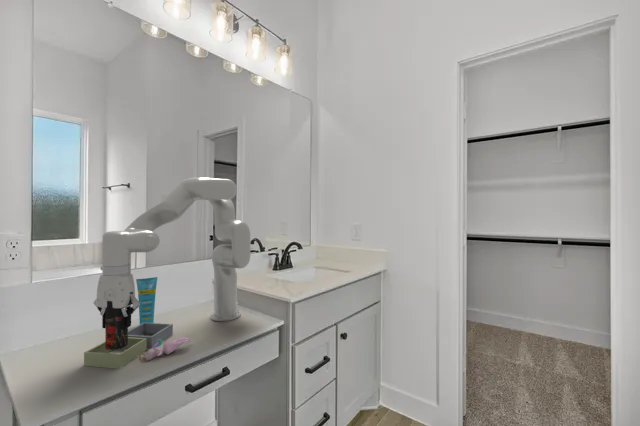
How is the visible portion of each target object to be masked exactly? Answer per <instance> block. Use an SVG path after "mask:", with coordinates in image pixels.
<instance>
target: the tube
mask: <svg viewBox="0 0 640 426" xmlns="http://www.w3.org/2000/svg"><path fill="white" fill-rule="evenodd" d="M135 282H136V286H137V300H138V301H139V302H140V306H139V307H138V316H139V317H138V318H139V325H140V324H142V323H144V322H146V323H155V321H154V320H155V307H156V306H155V305H156V304H155V303H156V293H157V284H158V276H154V277H146V278H135Z"/></svg>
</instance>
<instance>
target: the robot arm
mask: <svg viewBox="0 0 640 426" xmlns="http://www.w3.org/2000/svg"><path fill="white" fill-rule="evenodd" d="M237 192H238V188H237V184H236V183H235V182H234V181H233V180H231V179H228V178H215V177H214V178H213V177H189V178H185V179H183V180H181V181H180V182H179V183H178V184H177V185H176V186H175V187H174V188H173V189H172V190H171V191H170V192H169V193H168V194H167V196H165V197H164V198H162V199H163V200H161V201H160V202H159V203H158V204H156V205H154V206H152V207H151V208H150V209H148V210H146V211H144V213H143V212H142V214H140V215H139V216H137V217H136V218H134V220H133V221H132V222H131V223H130V224H129V225H128V226H127V227H126V228H125V229H124V230H116V231H115V230H110V231H106V232H104V233H103V234H102V243H101V244H102V246H101V247H102V253H101V254H102V255H101V256H102V260H101V261H102V262H101V263H102V266H100V271H101V272H102V274H100V275H99V278H98V281H97V289H96V299H95V300H94V301H93V304H94V306H95V307H96V308H97V310H98V311H99V312H100V313H99V314H100V316H102V319H101V320H102V323H101V326H102V329H105V308H106V307H107V301H112V304H113V308H116V309H121V310H122V313H123V315H124V316H123V317H122V329H126V328H128V329H129V328H130V327H131V326H132V314H134V312H136V310H137V309H139V306H140V302H139V300H138V298H137V297H136V288H135V286H136V285H135V280H134V275H133V274H132V253H150V252H153V251H155V250H156V249H157V248H158V247H159V245H160V241H161V239H160V236H159V235H158V234H157V233H156V232H155V230H156V229H158V228H159V227H162V226H164V225H166V224H171V223H172V222H175V221H176V220H177V221H178V220H179V219H181V217H182V216H183V215H184V214H185V213H186V212H187V210H188V209H189V208H190V207H191V206H192V205H193V204H194V203H195V202H196V201H204V200H205V201H208V202H209V203H210V204H211V206H212V208H213V211H214V235H215V238H216V239H217V240H218V241H220V242H225V243H231V244H225V243H223V244H222V243H221V244H219V245H217V246H216V247H214V249H213V250H212V253H211V261H212V266H213V277H214V279H213V282H214V283H213V285H214V286H213V295H214V296H213V312H211V313H210V317H209V318H210V319H211V321H216V322H229V321H233V320H236V319H238V318H239V317H240V316H241V311H240V310H238V309H237V307H238V306H239V302H238V295H237V294H238V276H237V274H238V273H237V270H236V269H244V268H246V267H247V266H248V264H250V260H251V229H250V227H249V225H248V224H247V222H245V221H244V220H239V219H236V211H235V210H236V209H235V206H234V202H233V201H232V199H233V198H235V197H236V195H237ZM126 307H127V309H128V311H127V309H126Z"/></svg>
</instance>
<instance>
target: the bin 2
mask: <svg viewBox="0 0 640 426" xmlns="http://www.w3.org/2000/svg"><path fill="white" fill-rule="evenodd" d="M173 327H174V326H173V323H159V322H158V323H157V322H154V323H146V322H144V323H142V324H140V323H139V324H138V325H136V326H134V327H133V328H131V329H128V337H133V338H147V350H149V349H152V348H153V347H154V345H155V344H156V343H158V342H159V341H157V340H158V339H162V343H163V342H164V341H165V340H167V339H169V338H170V337H171V336H173V335H174V330H173V329H174V328H173ZM146 334H147V335H146Z"/></svg>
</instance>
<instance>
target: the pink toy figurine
mask: <svg viewBox="0 0 640 426" xmlns="http://www.w3.org/2000/svg"><path fill="white" fill-rule="evenodd" d="M157 341H159V342H158V343H156V344H155V345H154V347H153V348H152V349H147V350H146V351H145V352H143V353H142V354H141V355H139V354H138V355H139V356H138V358H139V360H140V363H141V362H142V363H143V359H144V360H146V361H147V362H149V361H151V360H152V359H154V358H155V357H159V356H160V355H162V353H164V354H166V355H169V354H172V353H173V352H174V351H176V349H177V348H178V347H179V346H182V345H183V344H184V343H186V342H190V341H191V340H190V339H189V338H187V337H178V338H177V339H175V340H172V339H171V340H168V341H165V343H163V342H162V339H158V340H157ZM162 344H163V347H162V348H158V347H160V346H161V345H162ZM141 356H142V357H141ZM148 360H149V361H148Z"/></svg>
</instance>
